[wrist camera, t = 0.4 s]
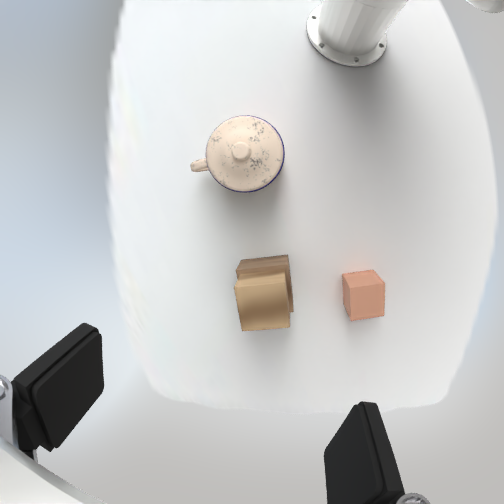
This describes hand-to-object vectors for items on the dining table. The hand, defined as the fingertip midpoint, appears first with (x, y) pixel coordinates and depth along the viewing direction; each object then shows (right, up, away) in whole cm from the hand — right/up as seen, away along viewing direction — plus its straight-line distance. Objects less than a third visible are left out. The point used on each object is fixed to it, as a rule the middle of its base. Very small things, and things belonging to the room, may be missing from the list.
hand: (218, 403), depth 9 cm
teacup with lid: (0, +18, +32) cm, 37 cm away
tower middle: (+3, 0, +31) cm, 31 cm away
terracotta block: (+18, 0, +34) cm, 38 cm away
